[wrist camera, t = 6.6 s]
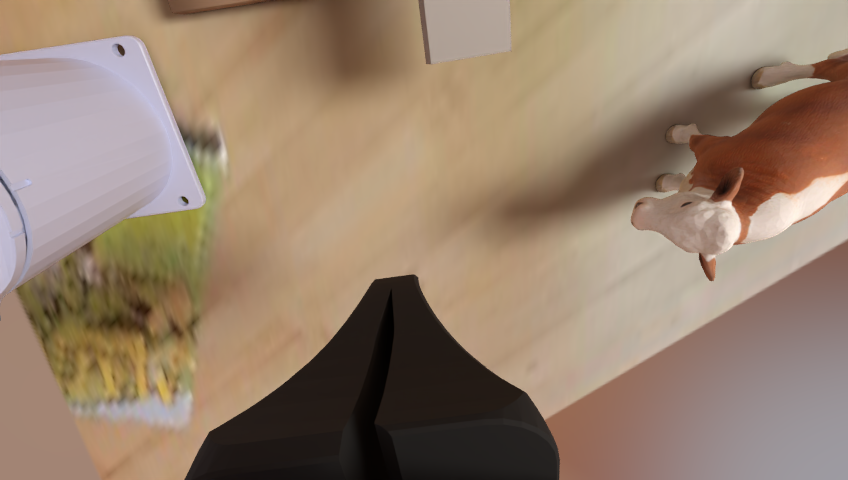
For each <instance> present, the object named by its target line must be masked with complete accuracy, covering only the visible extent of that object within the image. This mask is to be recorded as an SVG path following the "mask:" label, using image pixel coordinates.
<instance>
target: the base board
mask: <svg viewBox="0 0 848 480" xmlns="http://www.w3.org/2000/svg"><path fill="white" fill-rule="evenodd" d="M266 1H273V0H168V3H169V6H170V9H171V11H172V13H178V14H189V13H195V12H201V11H208V10H214V9H221V8H227V7H234V6H240V5H247V4H253V3H260V2H266Z"/></svg>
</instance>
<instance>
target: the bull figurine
mask: <svg viewBox="0 0 848 480" xmlns="http://www.w3.org/2000/svg"><path fill="white" fill-rule="evenodd" d="M802 78H818V79H825V80H829V81H831V82H828V83H823V84H819V85H815V86H811V87H808V88H805V89H802V90H800V91H797V92H795V93H793V94H791V95H789V96H787V97H784V98H783V99H781V100H779V101H777V102H776V103H775V104H773V105H772V106H770V107H769V108H768V109H766V110H765V111H764V112H763V113H762V114H761V115H760V116H759V117H758V118H757V119H756V120H755V121H754V122H753V123H752V124H751V125H750V126H749V127H748V128H747V129H745V130H743V131H742V132H740V133H739V134H737V135H735V136H732V137H729V136H724V137H717V136H711V135H702V134H700V132H699V131H698V130H697V126H696V124H693V123H692V124H690V125H688V126H685V125H674V126H672V127H670V128H669V129H668V131H667V133H666V140H667V141H668V142H669V143H677V144H684V143H688V144H689V148H690V149H691V150H692V151H693V152H694V153H695V157H696V159H697V163H696V165H695V167H694V168H693V169H692V170H691V171H690V172H689V174H688V175H687V177H686V176H685V175H684V174H682V173H679V174H673V175H669V174H664V175H662V176H661V177H660V178H659V179H658V180H657V182H656V189H657V190H658V191H659V192H668V191H673V190H679V191H678V193H676V194H673V195H671V196H669V197H666V198H664V199H657V198H653V197H645V198H641V199H640V200H638V201H637V202H636V204H635V206H634V209H633V213H632V216H631V223H632V225H633V226H634V227H635V228H636V229H638V230H652V231H656V232H659V233H661V234H662V235H664V236H665V237H666V238H667V239H669V240H670V241H672V242H673V243H674V244H675V245H677V246H678V247H680V248H682V249H683V250H685V251H686V252H690V253H699V260H700V263H701V266H702V268H703V270H704V272H705V274H706V276H707V278H708V279H709V280H710V281H714V278H715V265H716V261H715V255H718V254H721V253H724V252H726V251H727V250H729V249H730V248H731V247H732V245H738V244H746V243H750V242H755V241H760V240H764V239H768V238H771V237H773V236H776V235H778V234H780V233H781V232H782V231H784V230H785V229H787V228H788V227H789V226H790V225H792V224H795V223H798V222H800V221H802V220H805V219H806V218H808V217H810V216H812V215H814V214H815V213H817V212H818V211H820V210H821V209H822V208H823V207H825V206H826V205H827V204H828V203H829V202H831V201H833V200H834V199H836V198H838V197H840V196H842V195H844V194H846V193H848V48H847V49H845V50H842V51H837V52H834V53H832V54H830V55H829V56H828V59H827V60H824V61H821V62H818V63H815V64H810V65H796V64H792V63H790V62H783V63H782V64H781V66H772V67H762V68H760V69H759V70H757V71H756V72H755V74H754V75H753V77H752V81H751V82H752V86H753V88H755V89H762V88H766V87H772V86H775V85H778V84H782V83H785V82H788V81H791V80H795V79H802Z"/></svg>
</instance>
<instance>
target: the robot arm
mask: <svg viewBox="0 0 848 480" xmlns="http://www.w3.org/2000/svg"><path fill="white" fill-rule="evenodd" d="M119 44H120V45H121V46H123V48H124V49H125V55H124V56H123V55H121V54H120V53H119V51H118V45H119ZM182 196H183V197H186V198H187V199H188V201H189V203H185V202H184V201H183V200H182ZM205 202H206V196H205V194H204V191H203V189H202V186H201V184H200V181H199V179H198V176H197V174H196V171H195V169H194V166H193V164H192V161H191V159H190V156H189V154H188V151H187V149H186V146H185V144H184V141H183V139H182V136H181V134H180V131H179V129H178V126H177V124H176V121H175V119H174V116H173V114H172V111H171V109H170V106H169V104H168V101H167V99H166V96H165V94H164V91H163V89H162V86H161V84H160V81H159V79H158V76H157V74H156V71H155V69H154V66H153V64H152V61H151V59H150V56H149V54H148V51H147V49H146V46H145V45H144V43H143V42H142V41H141V40H140V39H139V38H137V37H135V36H120V37H113V38H107V39H100V40H94V41H87V42H81V43H74V44H68V45H61V46H55V47H48V48H42V49H35V50H29V51H22V52H16V53H9V54H3V55H0V303H1V301H2V299H3V298H4V297H5V295H6V294H8V293H10V292H11V291H13V290H14V289H16V288H17V287H19V286H21V285H22V284H24V283H25V282H27V281H28V280H30V279H32V278H33V277H35V276H36V275H38V274H39V273H41V272H43V271H44V270H46V269H47V268H49V267H50V266H52V265H53V264H55V263H57V262H58V261H60V260H61V259H63V258H64V257H66V256H68V255H69V254H71V253H72V252H74V251H75V250H77V249H79V248H80V247H82V246H83V245H85V244H86V243H88V242H89V241H91V240H93V239H94V238H96V237H97V236H99V235H100V234H102V233H104V232H105V231H107V230H108V229H110V228H111V227H113V226H115V225H116V224H118V223H119V222H121V221H122V220H124V219H127V218H134V217H141V216H148V215H156V214H163V213H170V212H177V211H184V210H191V209H197V208H200V207H202V206H203V205H204V204H205ZM0 320H1V317H0ZM559 465H560V459H559V453H558V448H557V445H556V443H555V440H554V438H553V436H552V434H551V432H550V430H549V428H548V426H547V424H546V422H545V421H544V419H543V417H542V416H541V414H540V412H539V411H538V409H537V408H536V406H535V405H534V403H533V402H532V400H531V399H530V397H529V396H528V394H527V393H526V392H524V391H522V390H521V389H519V388H517V387H515V386H514V385H512V384H510V383H508V382H507V381H505V380H503V379H501V378H500V377H498V376H497V375H496V374H494V373H493V372H491V371H490V370H488V369H487V368H486V367H485V366H484V365H482V364H481V363H480V362H479V361H477V360H476V359H475V358H474V357H473V356H471V355H470V354H469V353H468V352H467V351H466V350H465V349H464V348H463V347H462V346H461V345H460V344H459V343H458V342H457V341H456V340H455V339H454V338H453V337H452V336H451V335H450V334H449V332H448V331H447V330H446V329H445V327H444V326H443V325H442V324H441V322H440V321H439V320H438V318H437V317H436V315H435V314H434V312H433V311H432V309H431V308H430V306H429V304H428V303H427V301H426V299H425V297H424V295H423V293H422V291H421V288H420V286H419V281H418V277H417V276H415V275H414V274H413V275H405V276H398V277H391V278H383V279H376V280H374V281H373V283H372V284H371V286H370V287H369V289H368V290H367V292H366V293H365V295H364V296H363V298H362V300H361V301H360V303H359V304H358V305H357V307H356V308H355V310H354V311H353V312H352V314H351V315H350V317H349V318H348V319H347V321H346V322H345V323H344V325H343V326H342V327H341V328H340V330H339V331H338V332H337V333H336V335H335V336H334V337H333V338H332V339H331V341H330V342H329V343H328V344H327V345H326V346H325V347H324V348H323V349H322V350H321V351H320V352H319V353H318V354H317V355H316V356H315V357H314V358H313V359H312V360H311V361H310V362H309V363H308V364H306V365H305V366H304V367H303V368H302V369H301V370H299V371H298V372H297V373H296V374H295V375H294V376H292V377H291V378H290V379H289V380H288V381H287V382H285V383H284V384H283V385H281V386H280V387H279V388H277V389H276V390H275V391H273V392H272V393H271V394H269V395H268V396H266V397H265V398H263V399H262V400H261V401H259V402H258V403H256V404H255V405H253V406H252V407H250V408H249V409H247V410H246V411H244V412H242V413H241V414H239V415H237V416H236V417H234V418H232V419H231V420H229V421H227V422H226V423H224V424H222V425H221V426H219V427H217V428H216V429H214V430H212V431H210V432H209V434H208V435H207V437H206V439H205V441H204V442H203V444H202V446H201V448H200V449H199V451H198V453H197V455H196V457H195V459H194V461H193V463H192V466H191V468H190V470H189V472H188V474H187V476H186V478H185V480H559Z"/></svg>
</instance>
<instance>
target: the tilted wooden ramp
mask: <svg viewBox="0 0 848 480" xmlns="http://www.w3.org/2000/svg"><path fill="white" fill-rule="evenodd" d="M419 8H420V17H421V25H422V33H423V41H424V49H425V58H426V64H436V63H442V62H448V61H454V60H460V59H466V58H472V57H478V56H484V55H490V54H496V53H502V52H508V51H511V22H510V0H419Z"/></svg>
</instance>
